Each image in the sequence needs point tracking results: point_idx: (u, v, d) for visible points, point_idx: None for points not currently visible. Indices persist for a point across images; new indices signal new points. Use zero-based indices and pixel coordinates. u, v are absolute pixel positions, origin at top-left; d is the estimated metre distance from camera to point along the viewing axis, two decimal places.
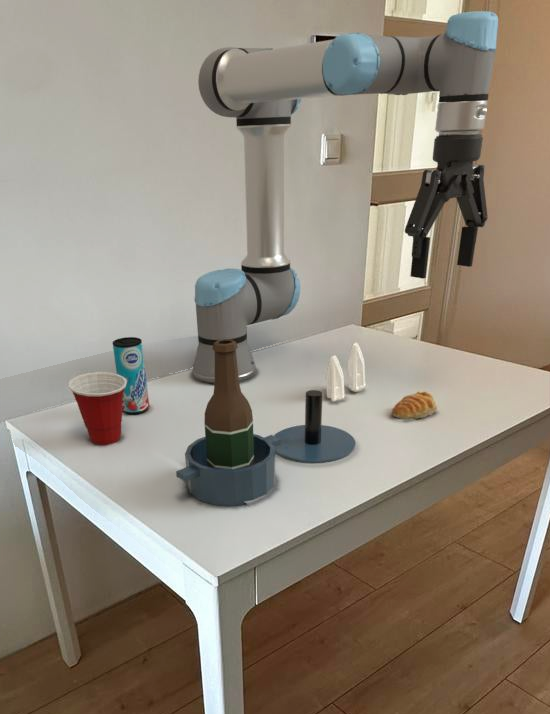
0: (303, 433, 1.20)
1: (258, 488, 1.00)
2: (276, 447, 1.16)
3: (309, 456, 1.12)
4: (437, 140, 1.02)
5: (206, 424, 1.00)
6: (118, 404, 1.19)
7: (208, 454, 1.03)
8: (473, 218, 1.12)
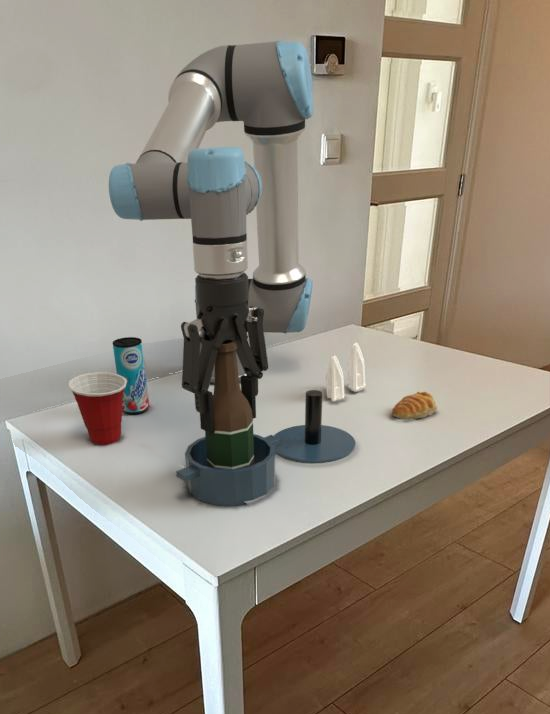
0: (303, 433, 1.20)
1: (258, 488, 1.00)
2: (276, 447, 1.16)
3: (309, 456, 1.12)
4: (195, 281, 0.89)
5: None
6: (118, 404, 1.19)
7: (208, 454, 1.03)
8: (249, 367, 0.98)
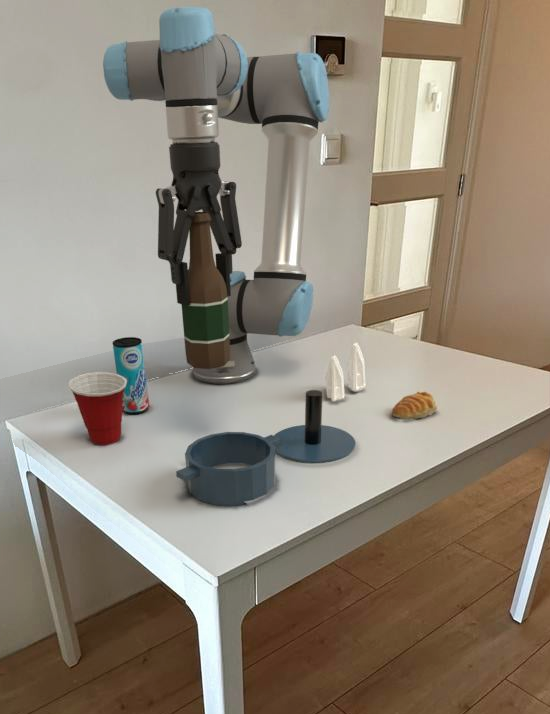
0: (303, 433, 1.20)
1: (258, 488, 1.00)
2: (276, 447, 1.16)
3: (309, 456, 1.12)
4: (169, 148, 0.93)
5: None
6: (118, 404, 1.19)
7: (185, 331, 1.07)
8: (223, 242, 1.02)
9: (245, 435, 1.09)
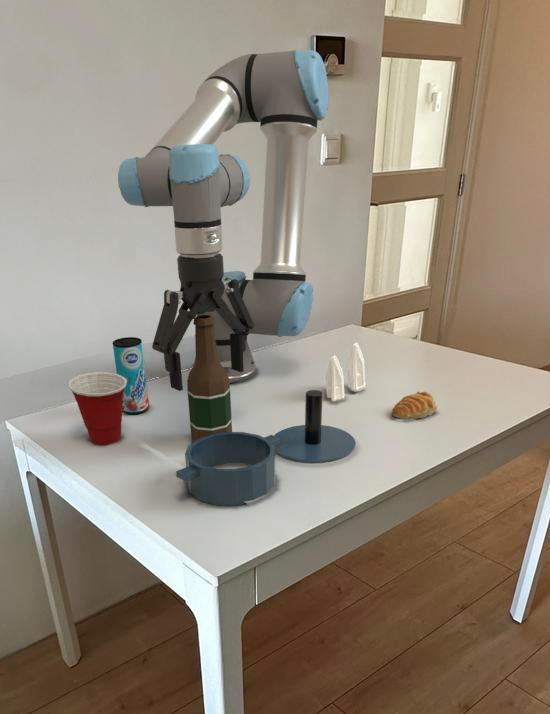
0: (303, 433, 1.20)
1: (258, 488, 1.00)
2: (276, 447, 1.16)
3: (309, 456, 1.12)
4: (177, 261, 1.02)
5: (188, 390, 1.14)
6: (118, 404, 1.19)
7: (191, 418, 1.17)
8: (236, 328, 1.12)
9: (245, 435, 1.09)
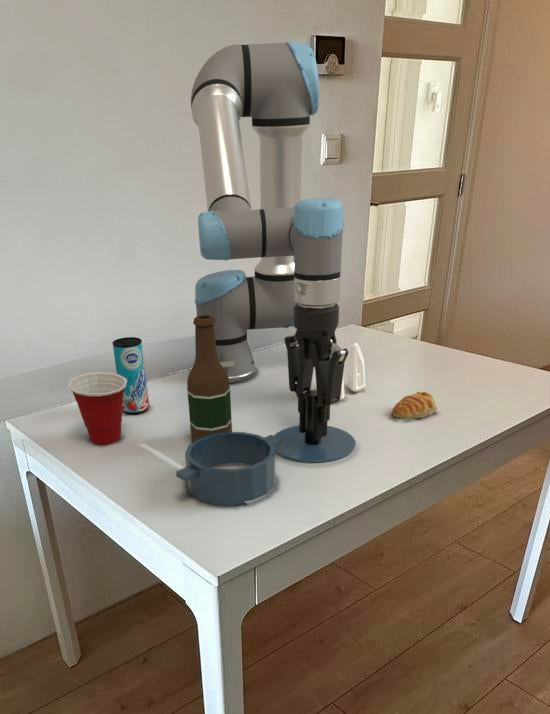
0: (303, 433, 1.20)
1: (258, 488, 1.00)
2: (276, 447, 1.16)
3: (309, 456, 1.12)
4: None
5: (188, 390, 1.14)
6: (118, 404, 1.19)
7: (191, 418, 1.17)
8: (318, 392, 1.10)
9: (245, 435, 1.09)
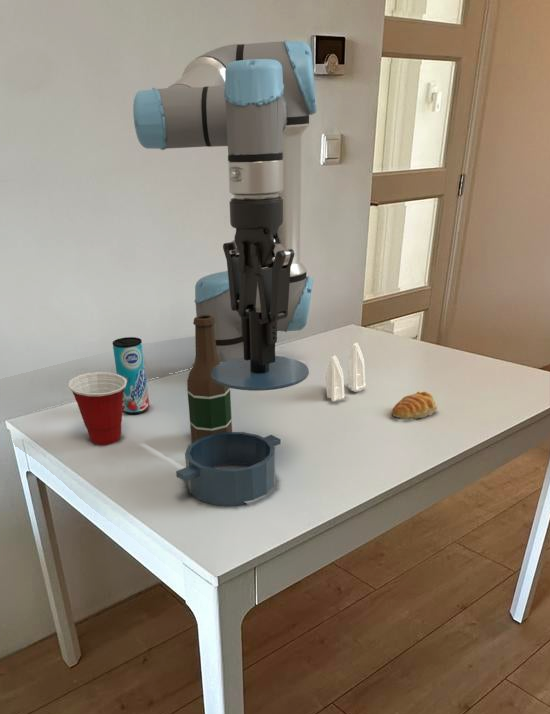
0: (250, 363, 1.04)
1: (258, 488, 1.00)
2: (216, 376, 0.99)
3: (253, 383, 0.96)
4: None
5: (188, 390, 1.14)
6: (118, 404, 1.19)
7: (191, 418, 1.17)
8: (262, 307, 0.94)
9: (245, 435, 1.09)
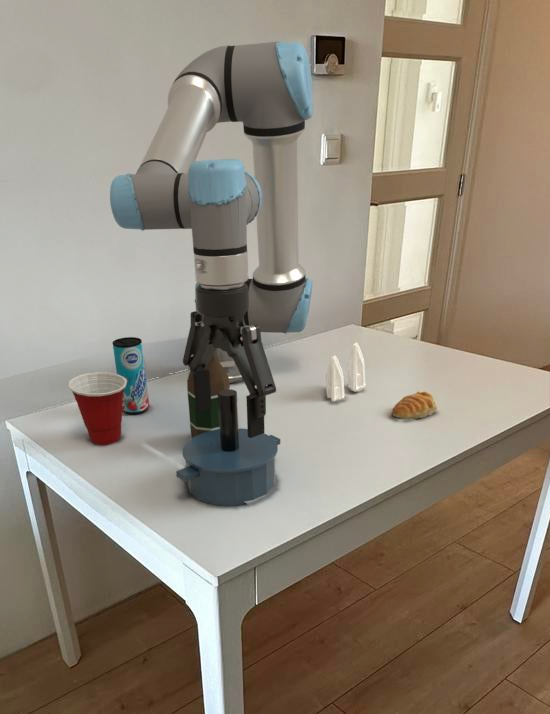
0: None
1: (258, 488, 1.00)
2: (187, 454, 1.01)
3: (221, 465, 0.98)
4: None
5: (188, 390, 1.14)
6: (118, 404, 1.19)
7: (191, 418, 1.17)
8: (247, 385, 0.92)
9: None
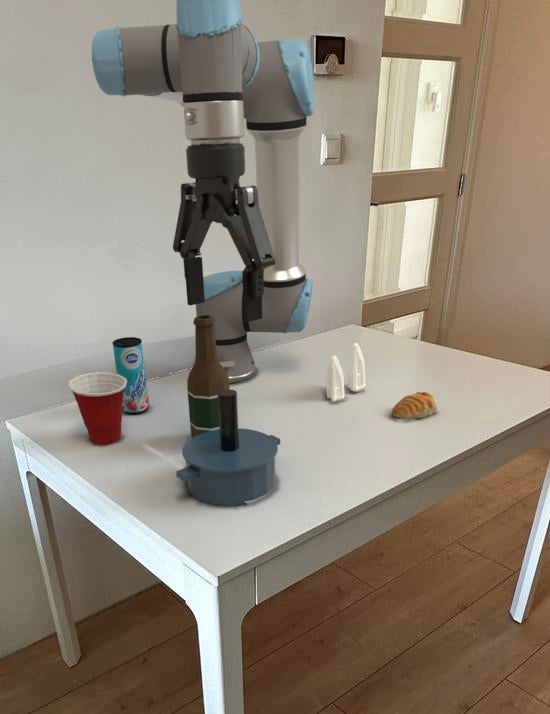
0: None
1: (258, 488, 1.00)
2: (187, 454, 1.01)
3: (221, 465, 0.98)
4: None
5: (188, 390, 1.14)
6: (118, 404, 1.19)
7: (191, 418, 1.17)
8: (243, 258, 0.83)
9: None
